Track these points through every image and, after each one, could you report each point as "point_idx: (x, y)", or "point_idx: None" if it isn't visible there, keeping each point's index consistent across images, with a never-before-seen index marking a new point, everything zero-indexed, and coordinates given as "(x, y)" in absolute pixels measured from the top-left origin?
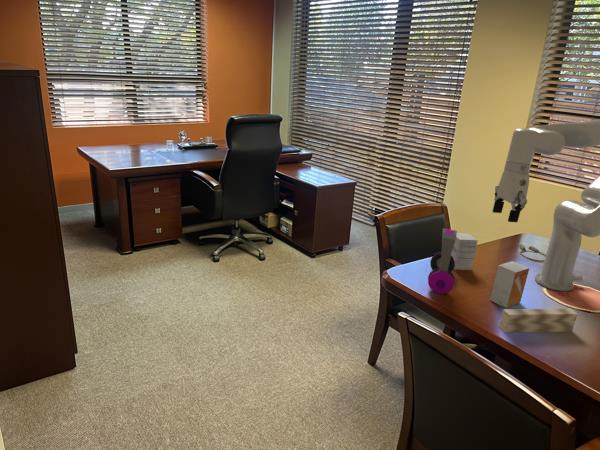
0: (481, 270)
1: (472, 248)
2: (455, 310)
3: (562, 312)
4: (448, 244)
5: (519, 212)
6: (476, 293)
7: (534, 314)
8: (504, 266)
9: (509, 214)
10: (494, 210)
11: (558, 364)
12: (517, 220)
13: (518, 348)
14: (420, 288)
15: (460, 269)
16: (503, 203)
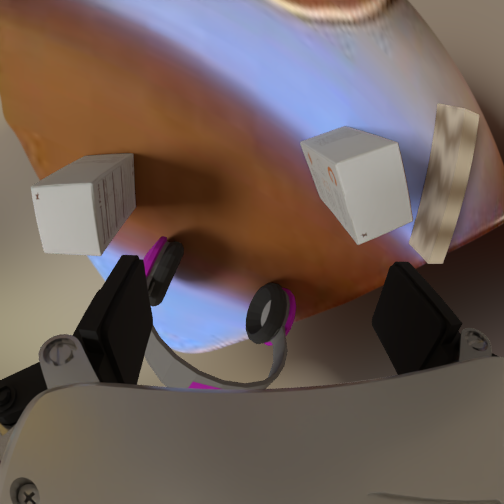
0: (135, 121)
1: (107, 186)
2: (341, 292)
3: (470, 143)
4: (267, 386)
5: (449, 317)
6: (282, 213)
7: (459, 212)
8: (371, 231)
9: (395, 362)
10: (149, 333)
11: (488, 214)
12: (411, 270)
13: (453, 247)
14: None
15: (134, 187)
16: (111, 328)
